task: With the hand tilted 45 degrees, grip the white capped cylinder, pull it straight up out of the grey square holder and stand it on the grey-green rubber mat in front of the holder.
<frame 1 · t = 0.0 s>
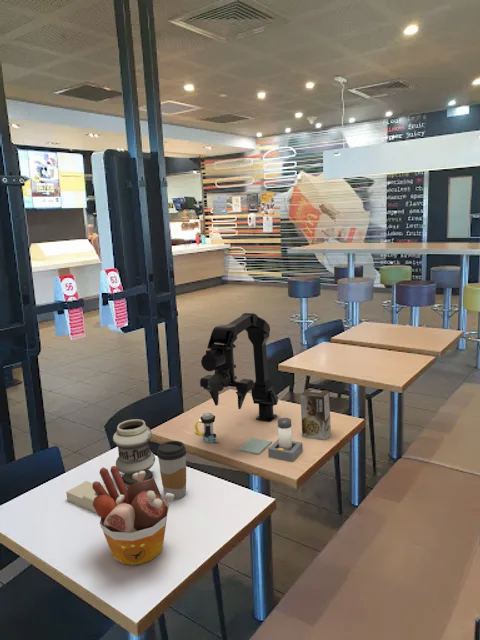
hand: (228, 407, 173), 15 cm above the table, tool pointing down, fingers open, 9 cm apart
rubber mat: (255, 446, 175), on the table
apothecary jar: (137, 478, 157), on the table
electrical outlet: (97, 504, 144), on the table
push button: (211, 441, 181), on the table
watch: (203, 434, 188), on the table
coffee box: (316, 435, 181), on the table
coffee cup: (175, 494, 147), on the table
grey square holder: (285, 454, 168), on the table
white capped cylinder: (285, 437, 167), in the grey square holder
bucket of meat: (137, 551, 122), on the table
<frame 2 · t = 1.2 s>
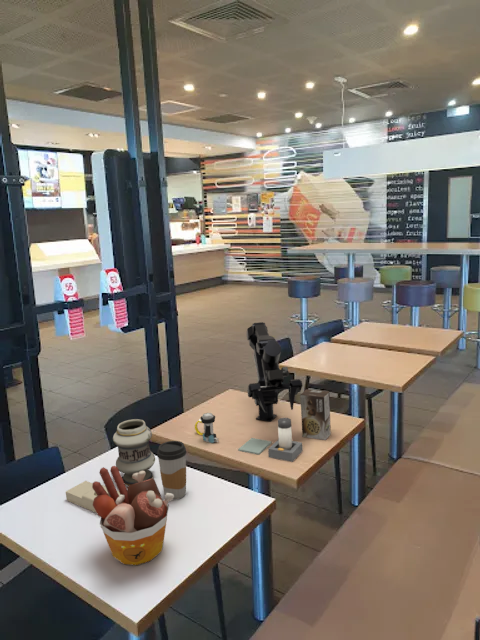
hand: (278, 410, 171), 13 cm above the table, tool tilted 45°, fingers open, 9 cm apart
nothing on the table moved.
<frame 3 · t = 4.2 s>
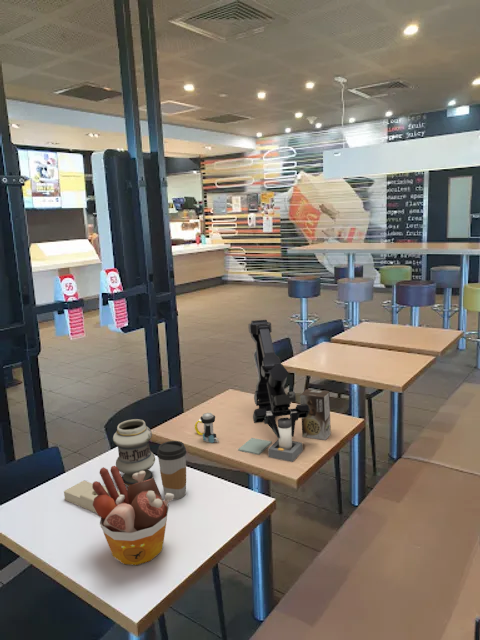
hand: (286, 437, 165), 7 cm above the table, tool tilted 45°, fingers closed on white capped cylinder, 4 cm apart
white capped cylinder: (285, 437, 167), in the grey square holder, touching gripper
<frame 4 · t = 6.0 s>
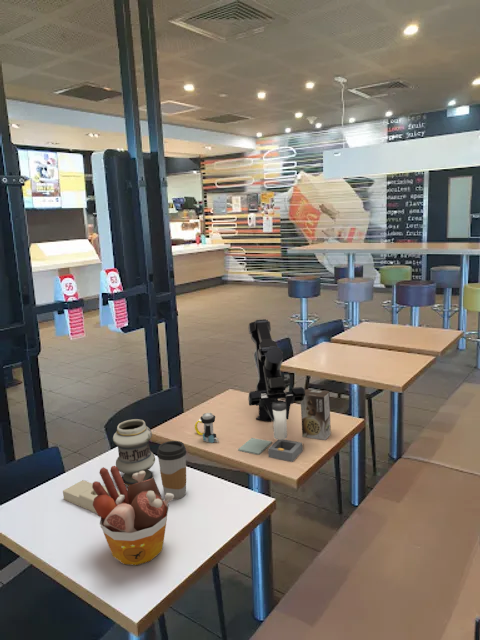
hand: (280, 419, 165), 12 cm above the table, tool tilted 45°, fingers closed on white capped cylinder, 4 cm apart
white capped cylinder: (279, 419, 166), point 12 cm above the table, touching gripper
when the fingers open (9 cm above the table, at t = 8.1 s): white capped cylinder drops 1 cm, resting on rubber mat.
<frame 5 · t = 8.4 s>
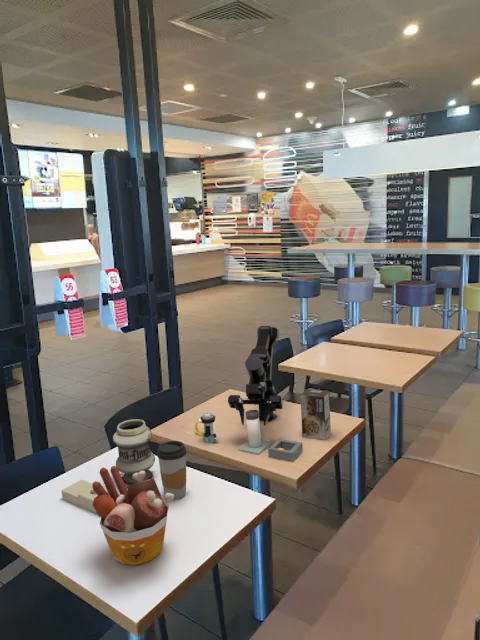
hand: (253, 424, 172), 9 cm above the table, tool tilted 45°, fingers open, 7 cm apart
white capped cylinder: (253, 428, 173), on the rubber mat, point 7 cm above the table
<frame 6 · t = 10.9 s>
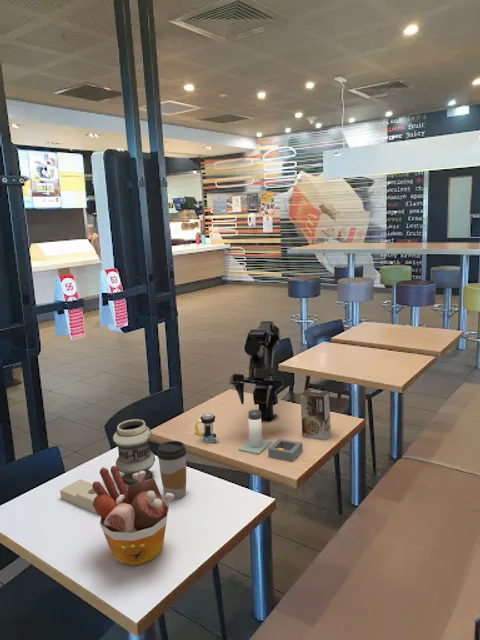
hand: (255, 405, 178), 13 cm above the table, tool tilted 30°, fingers open, 9 cm apart
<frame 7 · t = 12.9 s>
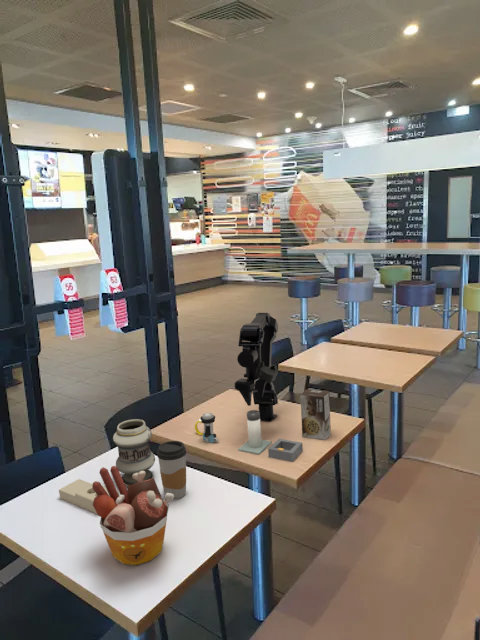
hand: (255, 401, 182), 13 cm above the table, tool pointing down, fingers open, 9 cm apart
at the end: white capped cylinder inside the target area on the rubber mat (0.1 cm from its centre), point 6.7 cm above the rubber mat's base; white capped cylinder tilted 1°; white capped cylinder touching rubber mat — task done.
